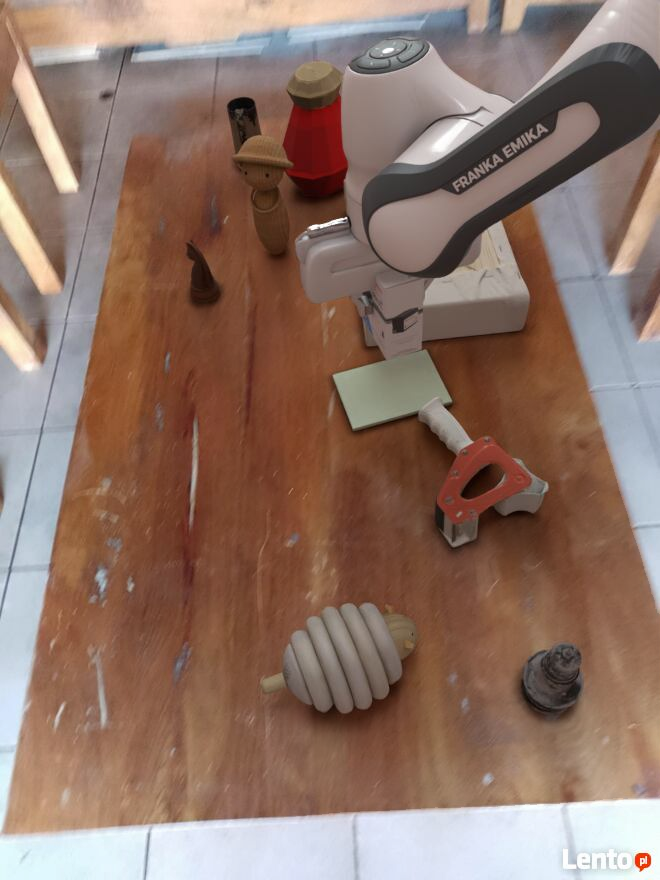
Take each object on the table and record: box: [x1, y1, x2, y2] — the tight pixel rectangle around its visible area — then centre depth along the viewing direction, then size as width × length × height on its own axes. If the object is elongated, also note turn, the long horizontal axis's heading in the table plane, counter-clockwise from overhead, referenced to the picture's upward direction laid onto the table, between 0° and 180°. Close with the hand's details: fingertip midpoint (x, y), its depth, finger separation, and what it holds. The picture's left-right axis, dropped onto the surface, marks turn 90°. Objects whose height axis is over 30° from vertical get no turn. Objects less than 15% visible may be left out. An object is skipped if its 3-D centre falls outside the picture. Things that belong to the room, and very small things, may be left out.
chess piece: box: [184, 239, 221, 305], centre depth 109 cm, size 5×5×10 cm
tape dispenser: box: [417, 397, 549, 548], centre depth 88 cm, size 18×5×20 cm
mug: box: [226, 96, 263, 170], centre depth 127 cm, size 8×6×12 cm
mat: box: [331, 348, 453, 432], centre depth 99 cm, size 14×10×1 cm
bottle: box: [281, 60, 348, 199], centre depth 119 cm, size 16×14×20 cm
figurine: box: [230, 134, 293, 255], centre depth 109 cm, size 9×7×20 cm
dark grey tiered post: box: [520, 641, 584, 716], centre depth 70 cm, size 6×6×12 cm
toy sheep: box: [259, 602, 420, 714], centre depth 72 cm, size 11×17×11 cm, turn 115°
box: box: [343, 179, 531, 347], centre depth 109 cm, size 23×8×32 cm
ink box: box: [361, 270, 424, 360], centre depth 84 cm, size 8×5×12 cm, turn 19°
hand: (390, 305), depth 85 cm, fingers closed on ink box, 5 cm apart
